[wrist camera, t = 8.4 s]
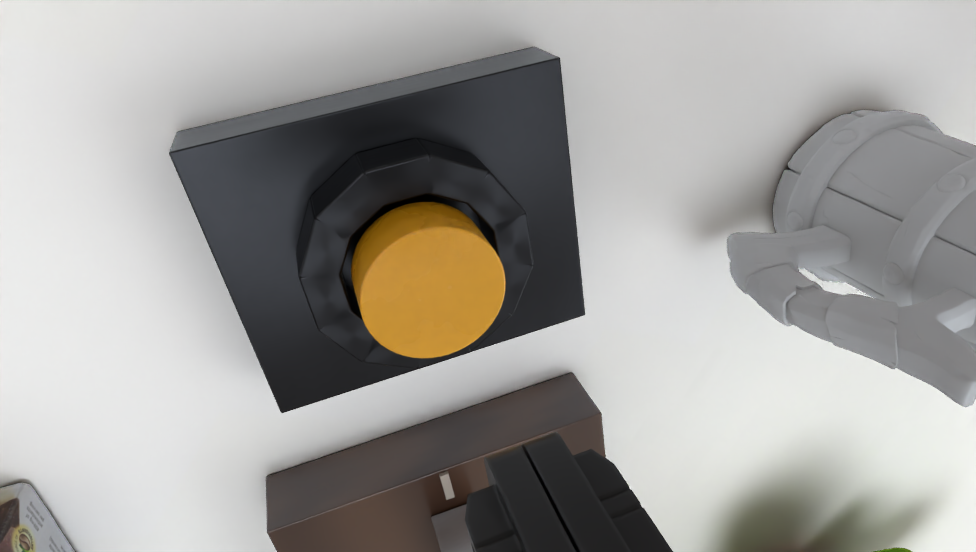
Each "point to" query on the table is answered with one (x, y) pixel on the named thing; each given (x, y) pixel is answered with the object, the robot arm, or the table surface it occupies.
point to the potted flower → (894, 550)
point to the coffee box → (28, 522)
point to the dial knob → (452, 530)
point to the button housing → (384, 208)
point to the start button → (426, 280)
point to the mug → (876, 246)
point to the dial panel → (418, 472)
